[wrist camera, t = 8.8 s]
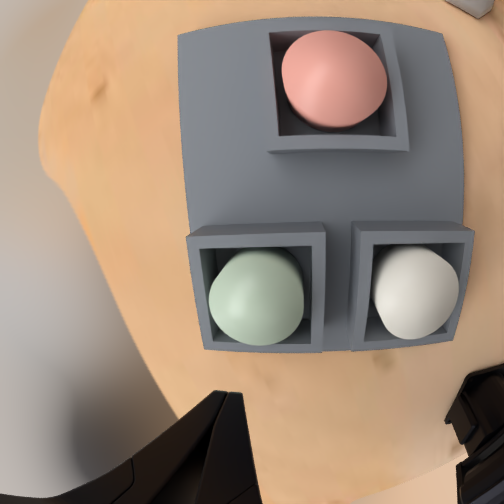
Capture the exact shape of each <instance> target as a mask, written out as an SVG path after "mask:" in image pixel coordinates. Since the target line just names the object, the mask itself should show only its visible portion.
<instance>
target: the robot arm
mask: <svg viewBox="0 0 504 504" xmlns="http://www.w3.org/2000/svg"><path fill="white" fill-rule="evenodd" d="M444 421H445V424H451V423H452V425H453V427H454V430H455V432H456V435H457V437H458V440H459V443H460V444H461V445H463V444H464V445H465V448H466V451H467V453H468V456H469V457H468V458H467V459H465V460H464V461H463V462H460V463H459V464H457V465H456V478H457V500H458V501H457V502H458V504H504V364H502V365H499V366H496V367H492V368H489V369H485V370H482V371H478V372H474V373H471V374H469V375H467V376H466V378H465V379H464V382H463V384H462V386H461V388H460V390H459V393H458V395H457V397H456V399H455V401H454V403H453V405H452V407H451V409H450V410H449V412H448V414H447V416H446V418H445V420H444ZM0 504H263V503H262V499H261V495H260V490H259V485H258V480H257V475H256V469H255V464H254V458H253V453H252V447H251V441H250V436H249V430H248V424H247V418H246V412H245V406H244V399H243V394H242V393H241V392H229V393H228V392H227V391H219V390H215V391H213V392H211V393H210V394H209V395H208V396H207V397H206V398H204V399H203V400H202V401H201V402H200V403H199V404H197V405H196V406H195V407H194V408H193V409H191V410H190V411H189V412H188V413H187V414H185V415H184V416H183V417H182V418H180V419H179V420H178V421H177V422H176V423H174V424H173V425H172V426H171V427H169V428H168V429H167V430H165V431H164V432H163V433H162V434H160V435H159V436H158V437H156V438H155V439H154V440H153V441H151V442H150V443H149V444H147V445H146V446H145V447H143V448H142V449H141V450H139V451H138V452H136V453H135V454H134V455H132V458H131V457H129V458H128V459H127V460H125V461H124V462H122V463H121V464H120V465H118V466H116V467H115V468H113V469H112V470H110V471H109V472H107V473H105V474H103V475H101V476H99V477H98V478H96V479H94V480H92V481H90V482H88V483H86V484H83V485H81V486H79V487H77V488H75V489H72V490H71V491H68V492H66V493H63V494H61V495H58V496H54V497H49V498H32V497H21V496H14V495H6V494H0Z"/></svg>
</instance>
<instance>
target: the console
mask: <svg viewBox="0 0 504 504" xmlns="http://www.w3.org/2000/svg"><path fill="white" fill-rule="evenodd" d="M323 30H331V31H339V32H343V33H347V34H350V35H352V36H354V37H356V38H358V39H360V40H361V41H363V42H364V43H366V44H367V45H368V46H369V47H370V48H371V49H372V50H373V51H374V52H375V53H376V54H377V56H378V57H379V59H380V60H381V62H382V64H383V66H384V69H385V72H386V76H387V90H386V95H385V97H384V100H383V102H382V103H381V105H380V106H379V107H378V109H377V110H376V111H375V112H374V113H372V114H371V115H370V116H368V117H367V118H365V119H364V120H363V121H361V122H360V123H358V124H357V125H355V126H354V127H352V128H350V129H348V130H345V131H340V132H325V131H320V130H317V129H314V128H312V127H310V126H308V125H307V124H305V123H304V122H302V121H301V120H300V119H299V118H298V117H297V116H296V115H295V114H294V113H293V111H292V110H291V108H290V106H289V104H288V101H287V98H286V93H285V88H284V83H283V78H282V62H283V59H284V56H285V54H286V52H287V50H288V49H289V47H290V46H291V45H292V44H293V43H294V42H295V41H296V40H298V39H299V38H301V37H302V36H304V35H306V34H309V33H312V32H316V31H323ZM178 85H179V109H180V127H181V142H182V156H183V168H184V179H185V190H186V200H187V209H188V218H189V227H190V234H189V235H188V236H186V242H187V249H188V257H189V264H190V270H191V277H192V284H193V290H194V296H195V302H196V308H197V314H198V319H199V325H200V330H201V336H202V341H203V346H204V349H206V350H219V351H235V352H258V353H322V351H346V350H351V351H367V350H380V349H391V348H401V347H410V346H418V345H426V344H433V343H440V342H446V341H453V338H454V335H455V331H456V328H457V324H458V321H459V317H460V313H461V309H462V305H463V300H464V296H465V291H466V286H467V281H468V276H469V270H470V264H471V257H472V250H473V242H474V233H475V231H474V230H472V229H469V228H467V227H465V226H463V225H462V222H463V205H464V159H463V142H462V130H461V121H460V113H459V106H458V99H457V93H456V88H455V82H454V77H453V73H452V68H451V64H450V60H449V56H448V52H447V48H446V45H445V41H444V38H443V34H441V33H438V32H434V31H430V30H426V29H422V28H417V27H412V26H407V25H402V24H396V23H390V22H383V21H376V20H367V19H357V18H343V17H286V18H272V19H261V20H252V21H244V22H238V23H231V24H225V25H220V26H214V27H210V28H205V29H200V30H196V31H192V32H188V33H184V34H180V35H178ZM419 243H421V244H423V245H425V246H426V247H427V248H429V249H430V250H432V251H433V252H434V253H436V254H437V255H438V256H440V257H441V258H443V259H444V260H445V261H447V262H448V263H449V264H450V265H451V266H452V267H453V269H454V271H455V272H456V275H457V278H458V283H459V293H458V298H457V302H456V305H455V307H454V309H453V311H452V313H451V315H450V316H449V318H448V319H447V320H446V322H445V323H444V324H443V325H442V326H441V327H439V328H438V329H437V330H436V331H434V332H433V333H431V334H429V335H427V336H425V337H422V338H418V339H402V338H399V337H396V336H395V335H393V334H392V333H390V332H389V331H388V330H387V328H386V327H385V325H384V324H383V321H382V319H381V317H380V315H379V313H378V311H377V309H376V307H375V305H374V303H373V300H372V298H371V296H370V285H371V273H372V262H373V260H374V259H375V257H376V256H377V255H378V253H379V252H380V251H381V250H382V249H384V248H385V247H386V246H388V245H389V244H419ZM243 247H282V248H284V249H285V250H287V251H288V252H289V253H291V254H292V255H293V256H294V258H295V259H296V260H297V262H298V263H299V265H300V267H301V270H302V274H303V286H304V310H303V316H302V319H301V321H300V323H299V325H298V327H297V328H296V329H295V331H294V332H293V333H292V334H291V335H290V336H288V337H287V338H285V339H284V340H282V341H280V342H277V343H274V344H270V345H262V346H257V345H249V344H245V343H242V342H239V341H237V340H235V339H233V338H231V337H230V336H228V335H227V334H226V333H225V332H224V331H222V330H221V328H220V327H219V326H218V325H217V323H216V322H215V320H214V318H213V317H212V314H211V311H210V307H209V293H210V289H211V286H212V284H213V282H214V280H215V279H216V278H217V276H218V275H219V273H220V272H221V271H222V269H223V268H224V267H225V265H226V264H227V263H228V261H229V260H230V259H231V257H232V256H233V255H234V254H235V253H236V252H237V251H238V250H240V249H241V248H243Z"/></svg>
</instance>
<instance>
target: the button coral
mask: <svg viewBox="0 0 504 504" xmlns="http://www.w3.org/2000/svg"><path fill="white" fill-rule="evenodd" d="M282 78H283V83H284V88H285V93H286V98H287V101H288V104H289V106H290V108H291V110H292V111H293V113H294V114H295V115H296V116H297V117H298V118H299V119H300V120H301V121H302V122H304V123H305V124H307V125H308V126H310V127H312V128H314V129H317V130H320V131H325V132H340V131H345V130H348V129H350V128H352V127H354V126H355V125H357V124H358V123H360V122H361V121H363V120H364V119H365V118H367V117H368V116H370V115H371V114H372V113H374V112H375V111H376V110H377V109H378V107H379V106H380V105H381V103H382V102H383V100H384V97H385V95H386V90H387V76H386V72H385V69H384V66H383V64H382V62H381V60H380V59H379V57H378V56H377V54H376V53H375V52H374V51H373V50H372V49H371V48H370V47H369V46H368V45H367V44H366V43H364V42H363V41H361V40H360V39H358V38H356V37H354V36H352V35H350V34H347V33H343V32H339V31H331V30H323V31H316V32H312V33H309V34H306V35H304V36H302V37H301V38H299V39H298V40H296V41H295V42H294V43H293V44H292V45H291V46H290V47H289V49H288V50H287V52H286V54H285V56H284V59H283V62H282Z"/></svg>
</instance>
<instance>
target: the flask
mask: <svg viewBox="0 0 504 504" xmlns="http://www.w3.org/2000/svg"><path fill="white" fill-rule="evenodd" d="M445 1H447V2H449V3H451V4H453V5H455V6H456V7H458V8H460V9H462V10H464V11H465V12H467V13H469V14H471V15H472V16H474V17H475V18H477V19H479V18H480V17H482V16H483V15H485V14H486V13H488V12H489V11H491V9H492V6H493V4H494V0H445Z"/></svg>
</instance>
